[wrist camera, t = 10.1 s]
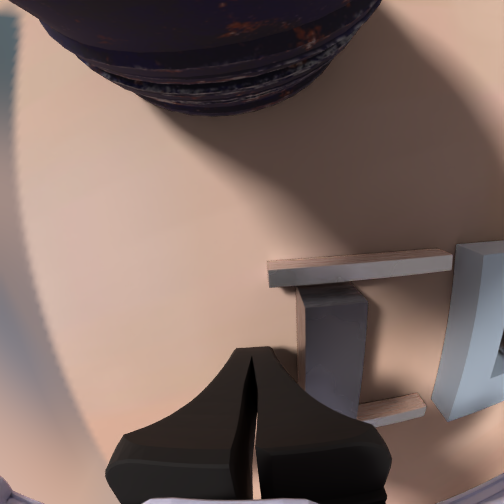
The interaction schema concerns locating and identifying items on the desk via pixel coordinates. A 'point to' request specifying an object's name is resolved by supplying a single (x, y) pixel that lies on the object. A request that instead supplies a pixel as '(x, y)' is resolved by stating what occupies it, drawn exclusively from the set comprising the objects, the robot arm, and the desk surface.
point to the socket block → (473, 333)
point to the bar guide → (364, 269)
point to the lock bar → (331, 343)
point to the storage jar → (205, 46)
